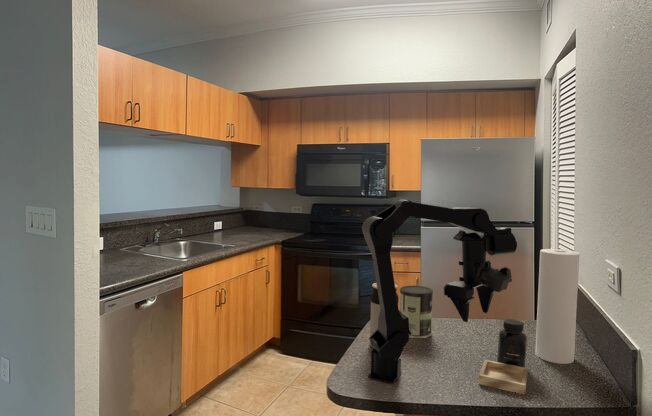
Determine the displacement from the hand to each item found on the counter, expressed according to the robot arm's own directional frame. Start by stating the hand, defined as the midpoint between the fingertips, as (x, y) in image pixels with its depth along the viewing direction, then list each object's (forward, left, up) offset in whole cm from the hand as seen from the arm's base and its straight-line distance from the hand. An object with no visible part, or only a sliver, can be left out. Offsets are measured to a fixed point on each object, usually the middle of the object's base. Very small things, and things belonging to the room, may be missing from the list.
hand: (475, 317), depth 106 cm
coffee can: (-21, +18, -14) cm, 31 cm away
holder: (+7, -3, -14) cm, 16 cm away
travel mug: (-26, +3, -14) cm, 29 cm away
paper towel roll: (+18, +20, -14) cm, 30 cm away
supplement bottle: (+8, +7, -14) cm, 18 cm away
